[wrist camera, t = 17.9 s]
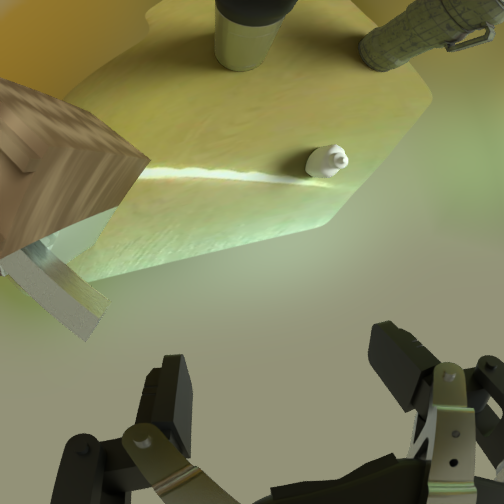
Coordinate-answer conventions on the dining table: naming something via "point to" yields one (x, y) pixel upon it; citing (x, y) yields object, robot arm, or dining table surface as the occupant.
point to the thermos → (430, 30)
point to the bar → (56, 288)
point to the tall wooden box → (56, 166)
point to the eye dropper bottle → (326, 161)
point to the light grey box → (77, 236)
